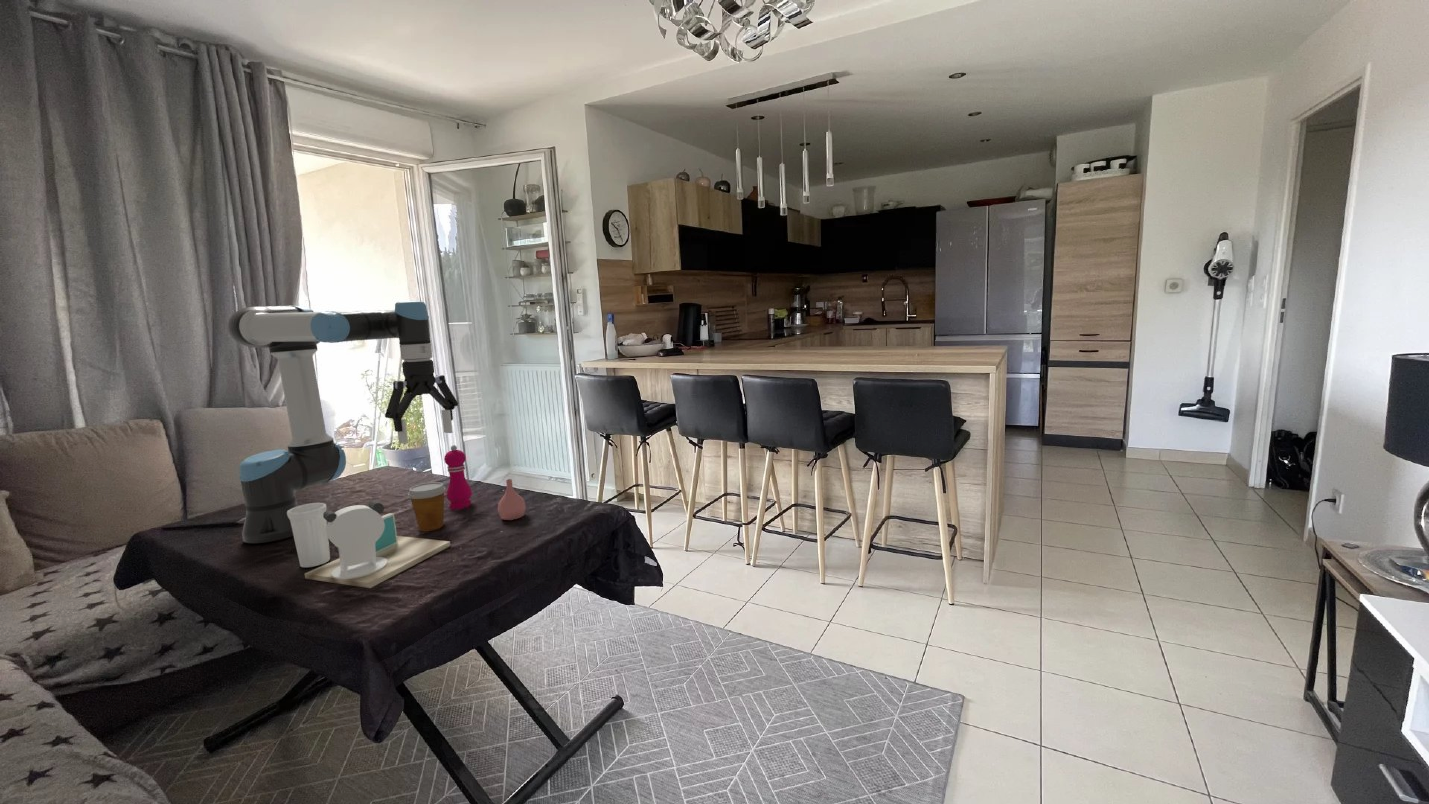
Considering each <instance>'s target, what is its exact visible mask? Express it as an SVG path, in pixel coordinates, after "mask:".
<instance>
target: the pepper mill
mask: <svg viewBox="0 0 1429 804" xmlns="http://www.w3.org/2000/svg"><path fill="white" fill-rule="evenodd" d="M466 459H467V458H466V454H465V452H464V451H462V450H461V449H458V446H457V445H455V444H453V445H451V446H450V450H449V451H447V452H446V453H445V455H444V463H445V464H446V465H447V467H446V469H447V472H449V483H448V487H447V488H446V489H447V490H446V499H447V500H448V501H449V509H450V510H461V509H465V508H464V507H466V508H468V507H470V506H471V505H472V500H471V499H470V498H471V497H472V494H473V491H472V488H471V486H470V484H469V483H468V481H467V480H466V476H465V469H466V467H465V464H464V463H465V462H466ZM470 504H471V505H470ZM469 505H470V506H469Z"/></svg>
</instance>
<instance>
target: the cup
mask: <svg viewBox="0 0 1429 804" xmlns="http://www.w3.org/2000/svg"><path fill="white" fill-rule="evenodd" d="M325 511H327V504H326V503H324V502H312V503H306V504H301V505H298V506H297V507H294V508H292V509H290V510H288V511H287V516H288V518H289V519H290V522H291V526H292V531H293V535H294V536H293V539H294V544H295V548H296V552H297V557H298V561H299V566H300V567H301V568H313V567H317V566H318V567H319V566H320V565H321V566H322V565H325V564H327V562H328V563H329V561H330V560H331V552H330V551H331V550H330V542H329V541H330V540H329V538H328V536H327V524H328V521H327V520H325V519H324V517H323V514H324V512H325Z"/></svg>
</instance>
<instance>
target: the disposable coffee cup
mask: <svg viewBox="0 0 1429 804" xmlns="http://www.w3.org/2000/svg"><path fill="white" fill-rule="evenodd" d="M445 490H446V487H445V485H444V483H443V482H438V481H437V482H436V481H432V482H424V483H419V484H417V485H413V486H411V487H410V488H409V491H408V493H407V495H408V497H409V498H410V501H411V505H412V508H413V512H414V517H415V518H416V522H417V527H418V530H419V531H421V532H430V531H435V530H439V529H440V528H443V526H444V524H445V523H444V517H445V516H444V512H445V511H444V510H445V508H444V507H445V501H444V500H445V492H446V491H445Z"/></svg>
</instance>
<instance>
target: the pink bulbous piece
mask: <svg viewBox="0 0 1429 804" xmlns="http://www.w3.org/2000/svg"><path fill="white" fill-rule="evenodd" d="M505 482H506V489H505V492H504V493H503V494H504V495H503V496H502V497H501V499H500V500H499V501H498V503H497V512H498V514H499V517H500V519H501V520H505V521H506V520H507V521H513V520H514V519H515V520H517V519H520V518H522V517H524V516H525V514H526V507H527V506H526V505H527V504H526V502H525V499H524V498H523V497H522V496H521V495H519V494H518V493H517V492H516V491H515V489H514V487H513V480H512V478H509V479H506V480H505Z"/></svg>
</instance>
